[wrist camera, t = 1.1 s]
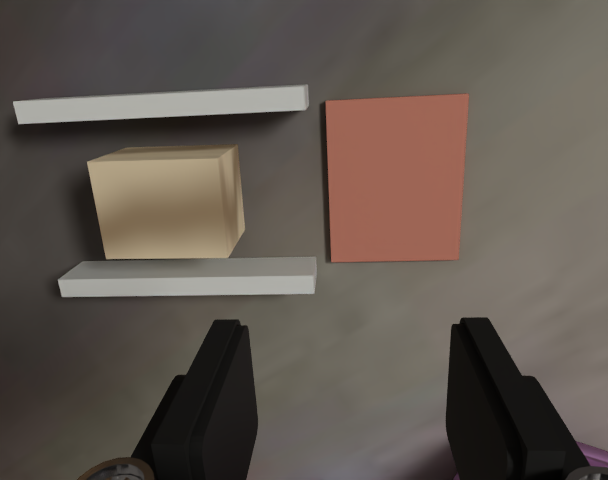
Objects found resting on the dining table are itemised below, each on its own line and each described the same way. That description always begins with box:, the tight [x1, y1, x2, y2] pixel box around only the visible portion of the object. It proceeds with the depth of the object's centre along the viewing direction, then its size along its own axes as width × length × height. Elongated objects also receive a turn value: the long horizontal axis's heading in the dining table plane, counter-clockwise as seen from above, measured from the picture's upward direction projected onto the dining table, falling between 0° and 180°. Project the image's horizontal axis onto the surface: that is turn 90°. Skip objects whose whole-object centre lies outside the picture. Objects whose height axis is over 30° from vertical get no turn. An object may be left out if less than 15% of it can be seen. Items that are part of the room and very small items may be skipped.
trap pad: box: [326, 94, 469, 262], centre depth 28 cm, size 10×8×1 cm
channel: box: [13, 84, 317, 297], centre depth 28 cm, size 12×16×3 cm
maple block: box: [87, 144, 245, 259], centre depth 28 cm, size 6×7×5 cm
